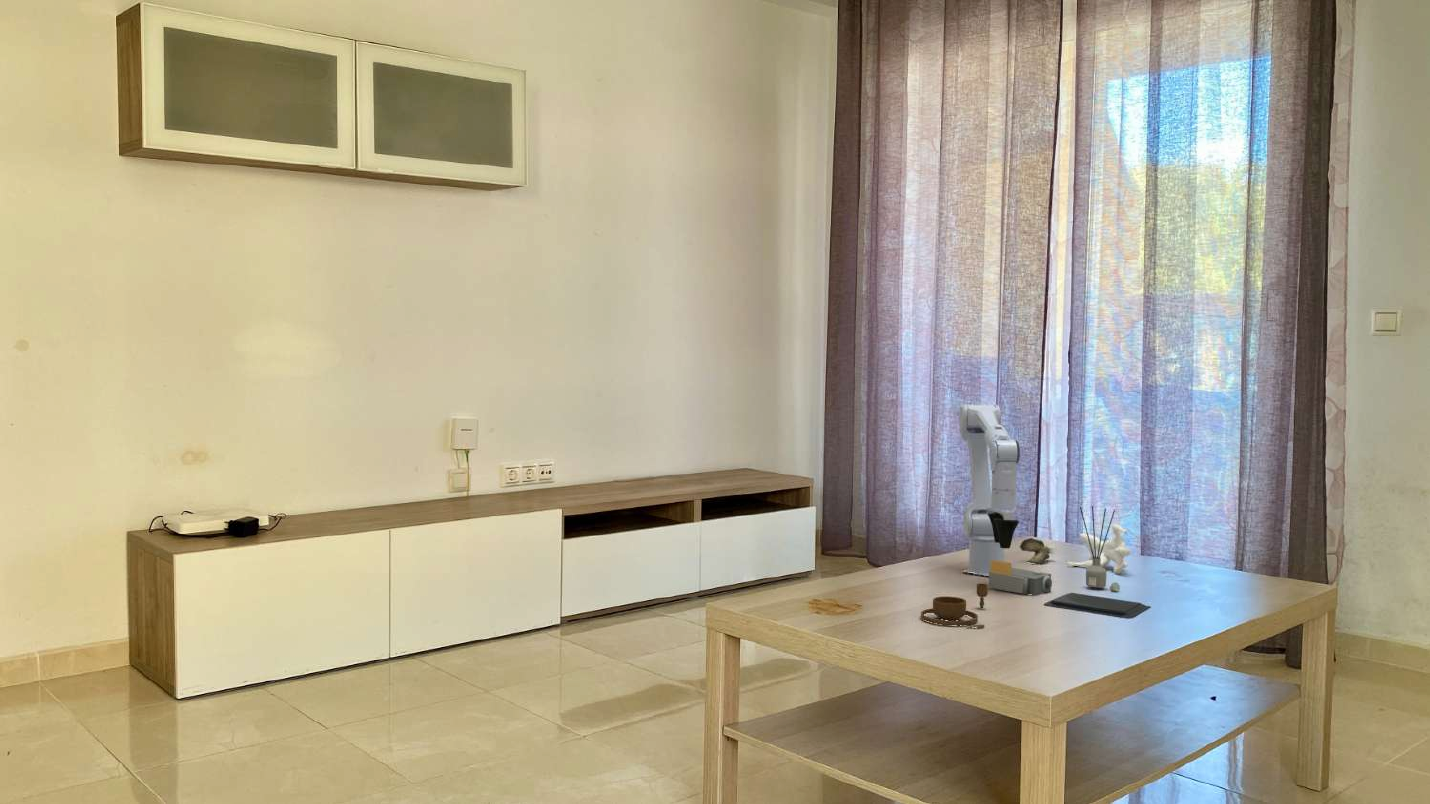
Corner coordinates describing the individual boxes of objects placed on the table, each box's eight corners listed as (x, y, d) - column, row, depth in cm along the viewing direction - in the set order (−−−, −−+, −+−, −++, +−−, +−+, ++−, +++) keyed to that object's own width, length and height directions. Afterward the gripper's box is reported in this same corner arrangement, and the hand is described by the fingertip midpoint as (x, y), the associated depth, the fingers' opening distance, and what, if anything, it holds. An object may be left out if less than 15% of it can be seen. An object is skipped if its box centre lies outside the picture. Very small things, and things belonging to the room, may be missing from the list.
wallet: (1040, 599, 251) (1067, 588, 263) (1040, 607, 251) (1067, 596, 263) (1129, 614, 238) (1153, 602, 250) (1129, 622, 238) (1153, 610, 250)
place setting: (903, 614, 243) (904, 588, 242) (982, 608, 249) (982, 582, 249) (945, 634, 226) (946, 606, 226) (1028, 627, 233) (1029, 599, 233)
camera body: (1005, 582, 275) (1005, 564, 274) (1053, 591, 266) (1054, 572, 266) (989, 587, 269) (989, 569, 268) (1037, 596, 260) (1038, 577, 260)
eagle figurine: (1028, 553, 310) (1012, 551, 303) (1043, 533, 307) (1028, 531, 301) (1048, 571, 305) (1032, 569, 298) (1063, 551, 303) (1048, 549, 296)
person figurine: (1062, 525, 298) (1126, 521, 285) (1085, 531, 306) (1148, 527, 294) (1063, 574, 295) (1128, 573, 282) (1086, 578, 303) (1150, 577, 291)
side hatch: (992, 587, 268) (992, 559, 267) (1028, 593, 261) (1029, 565, 261) (989, 588, 267) (990, 560, 267) (1026, 594, 260) (1026, 566, 260)
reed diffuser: (1074, 587, 270) (1076, 506, 269) (1083, 583, 276) (1085, 503, 275) (1116, 593, 264) (1119, 510, 263) (1125, 588, 270) (1127, 506, 269)
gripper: (982, 485, 275) (980, 539, 276) (991, 493, 261) (990, 550, 261) (1011, 486, 275) (1009, 540, 275) (1022, 493, 260) (1020, 551, 261)
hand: (1002, 545), depth 268 cm, fingers open, 7 cm apart
